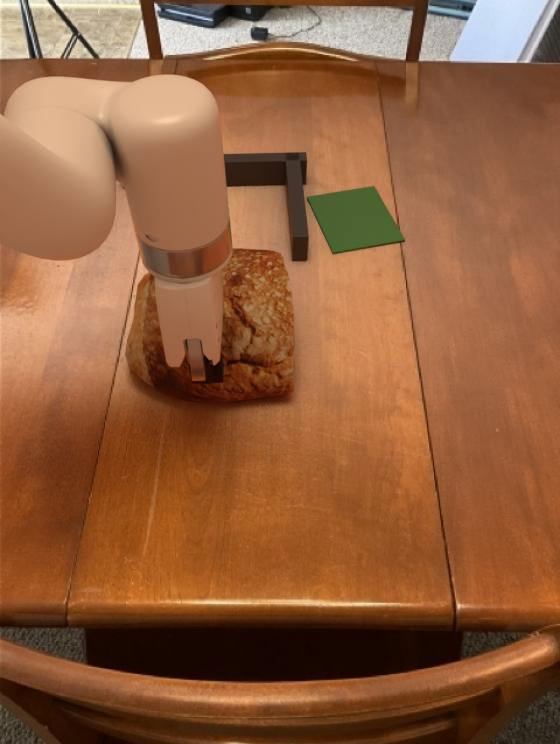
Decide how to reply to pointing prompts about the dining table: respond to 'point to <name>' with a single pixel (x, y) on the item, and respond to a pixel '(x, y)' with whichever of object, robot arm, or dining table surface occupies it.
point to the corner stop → (276, 172)
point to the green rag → (354, 219)
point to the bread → (227, 334)
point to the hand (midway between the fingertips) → (208, 376)
